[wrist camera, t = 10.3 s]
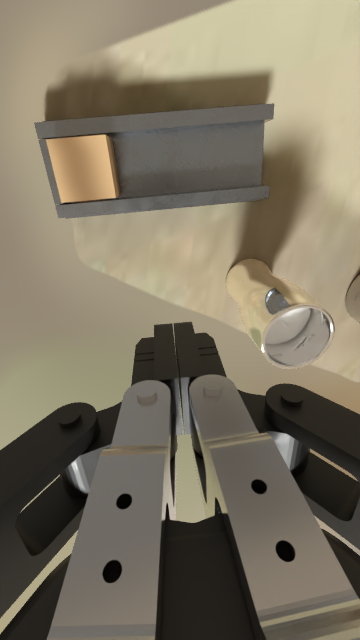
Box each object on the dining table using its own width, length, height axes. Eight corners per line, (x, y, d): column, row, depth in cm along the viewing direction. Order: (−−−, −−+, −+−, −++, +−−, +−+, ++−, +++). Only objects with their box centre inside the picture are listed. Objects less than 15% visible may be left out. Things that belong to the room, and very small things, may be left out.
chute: (261, 105, 30) (274, 98, 27) (258, 199, 34) (268, 202, 31) (45, 123, 29) (32, 117, 26) (68, 217, 34) (59, 222, 30)
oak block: (112, 139, 29) (105, 134, 25) (120, 193, 32) (115, 197, 27) (61, 144, 29) (45, 139, 25) (74, 198, 32) (61, 202, 27)
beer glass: (283, 267, 39) (353, 318, 25) (256, 311, 41) (307, 379, 28) (238, 246, 37) (287, 289, 24) (212, 294, 40) (244, 357, 26)
